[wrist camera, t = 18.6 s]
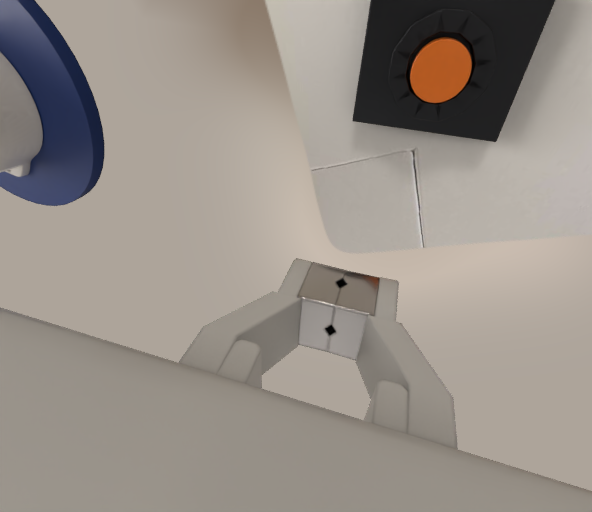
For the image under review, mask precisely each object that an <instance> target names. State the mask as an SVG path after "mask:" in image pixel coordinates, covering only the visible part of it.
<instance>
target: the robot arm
mask: <svg viewBox="0 0 592 512" xmlns="http://www.w3.org/2000/svg"><path fill="white" fill-rule="evenodd" d="M42 141H43V130H42V124H41V119H40V116H39V112H38V110H37V107H36V104H35V102H34V100H33V98H32V96H31V94H30V92H29V90H28V88H27V86H26V85H25V83H24V81H23V80H22V78H21V77H20V75H19V74H18V72H17V71H16V70H15V68H14V67H13V66H12V64H11V63H10V62H9V61H8V60H7V59H6V57H5V56H4V55H3V54H2V53H1V52H0V173H1V172H4V171H5V172H7V173H10V174H12V175H14V176H17V177H22V176H25V175H28V174H29V171H30V163H31V160H32V159H33V158H34V157H35V156H36V155H37V154H38V152H39V151H40V149H41V146H42ZM398 285H399V283H398V281H397V280H391V279H386V278H382V277H380V278H379V277H374V276H369V275H365V274H360V273H356V272H351V271H347V270H343V269H339V268H335V267H331V266H327V265H323V264H319V263H315V262H313V263H312V262H310V261H306V260H302V259H295V260H294V261H293V263H292V265H291V267H290V269H289V271H288V273H287V275H286V277H285V279H284V281H283V283H282V285H281V287H280V289H279V291H278V293H277V292H271V293H269V294H267V295H265V296H263V297H261V298H259V299H257V300H255V301H253V302H251V303H249V304H247V305H245V306H243V307H241V308H239V309H237V310H235V311H233V312H231V313H229V314H227V315H225V316H224V317H221V318H220V319H217V320H216V321H214V322H212V323H210V324H208V325H206V326H204V327H203V328H202V329H201V331H200V332H199V334H198V335H197V337H196V338H195V340H194V341H193V342H192V344H191V345H190V347H189V348H188V350H187V351H186V353H185V354H184V355H183V357H182V358H181V360H180V361H179V363H177V362H174V361H171V360H168V359H164V358H161V357H158V356H155V355H151V354H148V353H145V352H142V351H139V350H135V349H132V348H129V347H126V346H122V345H119V344H116V343H113V342H109V341H106V340H103V339H100V338H96V337H93V336H90V335H87V334H84V333H81V332H77V331H74V330H71V329H68V328H65V327H61V326H58V325H55V324H52V323H48V322H45V321H42V320H39V319H36V318H32V317H29V316H26V315H22V314H19V313H16V312H13V311H10V310H7V309H3V308H0V512H592V491H589V490H586V489H583V488H579V487H577V486H573V485H570V484H567V483H564V482H561V481H557V480H554V479H551V478H548V477H544V476H541V475H538V474H535V473H531V472H528V471H525V470H522V469H519V468H516V467H512V466H509V465H505V464H503V463H499V462H496V461H493V460H490V459H487V458H483V457H480V456H477V455H473V454H470V453H467V452H464V451H461V450H458V448H457V436H456V425H455V413H454V401H453V397H452V395H451V394H450V392H449V391H448V390H447V389H446V387H445V385H444V384H443V382H442V381H441V379H440V378H439V377H438V375H437V374H436V372H435V371H434V369H433V368H432V367H431V365H430V364H429V362H428V361H427V360H426V358H425V357H424V355H423V354H422V352H421V351H420V350H419V348H418V347H417V345H416V344H415V342H414V341H413V339H412V338H411V337H410V335H409V334H408V332H407V331H406V329H405V328H404V327H403V325H402V324H401V323H398V322H396V312H397V299H398ZM298 345H302V346H306V347H310V348H314V349H318V350H322V351H327V352H330V353H333V354H336V355H339V356H343V357H346V358H349V359H352V360H356V364H357V366H358V369H359V371H360V374H361V376H362V379H363V381H364V384H365V386H366V388H367V391H368V394H369V396H370V399H371V401H370V404H369V407H368V410H367V413H366V416H365V418H364V420H360V419H357V418H354V417H351V416H348V415H344V414H341V413H338V412H335V411H331V410H328V409H325V408H322V407H319V406H316V405H312V404H309V403H306V402H303V401H299V400H296V399H293V398H290V397H287V396H283V395H280V394H277V393H274V392H270V391H267V390H264V389H262V380H261V377H262V375H263V374H264V373H265V372H266V371H268V370H269V369H270V368H271V367H273V366H274V365H275V364H276V363H277V362H279V361H280V360H281V359H283V358H284V357H285V356H286V355H288V354H289V353H290V352H291V351H292V350H294V349H295V348H296V347H297V346H298Z"/></svg>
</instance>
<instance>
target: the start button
mask: <svg viewBox="0 0 592 512" xmlns="http://www.w3.org/2000/svg"><path fill="white" fill-rule="evenodd" d="M471 68H472V61H471V56H470V53H469V51H468V50H467V48H466V47H465V46H464V45H463V44H462V43H461V42H460V41H458V40H456V39H454V38H449V37H443V38H438V39H435V40H433V41H431V42H429V43H428V44H426V45H425V46H424V47H423V48H422V49H421V50H420V51H419V53H418V54H417V56H416V57H415V59H414V62H413V65H412V68H411V73H410V82H411V86H412V89H413V91H414V92H415V94H416V95H417V96H418V97H419V98H421V99H422V100H424V101H426V102H430V103H440V102H444V101H447V100H449V99H451V98H453V97H454V96H456V95H457V94H458V93H459V92H460V91H461V90H462V89H463V88H464V86H465V85H466V83H467V81H468V79H469V77H470V74H471Z"/></svg>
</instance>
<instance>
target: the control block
mask: <svg viewBox="0 0 592 512" xmlns="http://www.w3.org/2000/svg"><path fill="white" fill-rule="evenodd" d="M554 2H555V0H371V3H370V9H369V16H368V22H367V29H366V36H365V42H364V49H363V55H362V62H361V68H360V75H359V81H358V88H357V94H356V101H355V108H354V114H353V121H356V122H363V123H370V124H376V125H383V126H390V127H397V128H404V129H411V130H418V131H424V132H431V133H438V134H445V135H452V136H459V137H466V138H472V139H479V140H486V141H493V142H496V141H497V138H498V136H499V134H500V131H501V129H502V126H503V124H504V122H505V119H506V117H507V114H508V112H509V110H510V107H511V105H512V102H513V100H514V98H515V95H516V93H517V90H518V88H519V86H520V83H521V81H522V79H523V76H524V74H525V71H526V69H527V67H528V64H529V62H530V59H531V57H532V55H533V52H534V50H535V47H536V45H537V43H538V40H539V38H540V35H541V33H542V31H543V28H544V26H545V23H546V21H547V19H548V16H549V14H550V11H551V9H552V7H553V4H554ZM443 37H449V38H454V39H456V40H458V41H460V42H461V43H462V44H463V45H464V46H465V47H466V48H467V50H468V51H469V53H470V56H471V61H472V68H471V74H470V77H469V79H468V81H467V83H466V85H465V86H464V88H463V89H462V90H461V91H460V92H459V93H458V94H457V95H456V96H454V97H453V98H451V99H449V100H447V101H444V102H440V103H430V102H426V101H424V100H422V99H421V98H419V97H418V96H417V95H416V94H415V92H414V91H413V89H412V86H411V82H410V73H411V68H412V65H413V62H414V59H415V57H416V56H417V54H418V53H419V51H420V50H421V49H422V48H423V47H424V46H425V45H426V44H428V43H429V42H431V41H433V40H435V39H438V38H443Z"/></svg>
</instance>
